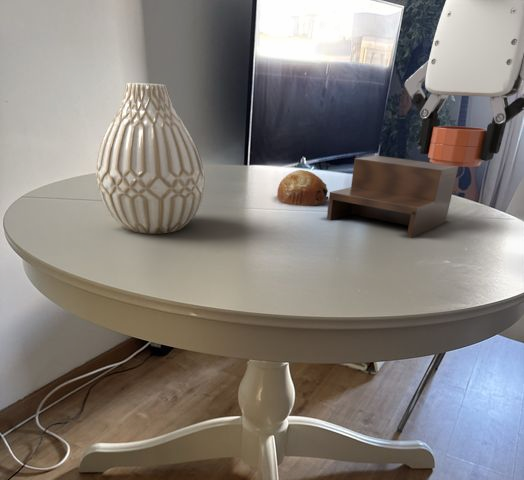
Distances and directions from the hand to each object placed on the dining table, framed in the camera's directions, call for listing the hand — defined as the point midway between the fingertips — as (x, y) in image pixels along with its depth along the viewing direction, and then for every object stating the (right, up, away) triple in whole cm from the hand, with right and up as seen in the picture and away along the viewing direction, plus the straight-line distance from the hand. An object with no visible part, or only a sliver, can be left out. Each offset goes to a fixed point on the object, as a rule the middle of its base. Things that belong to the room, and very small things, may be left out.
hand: (455, 155), depth 59 cm
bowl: (0, -1, 0) cm, 1 cm away
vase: (-41, -5, +17) cm, 45 cm away
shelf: (-1, -1, +28) cm, 28 cm away
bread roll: (-16, +6, +40) cm, 43 cm away
